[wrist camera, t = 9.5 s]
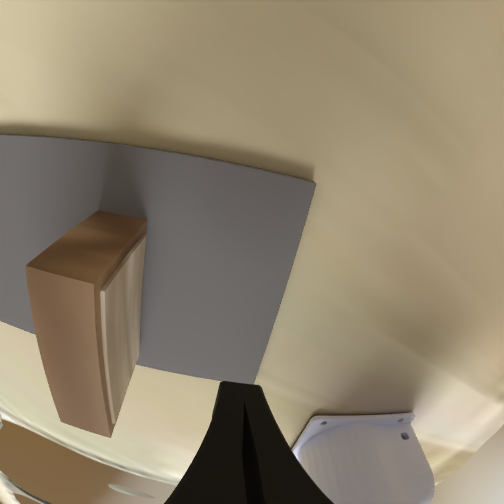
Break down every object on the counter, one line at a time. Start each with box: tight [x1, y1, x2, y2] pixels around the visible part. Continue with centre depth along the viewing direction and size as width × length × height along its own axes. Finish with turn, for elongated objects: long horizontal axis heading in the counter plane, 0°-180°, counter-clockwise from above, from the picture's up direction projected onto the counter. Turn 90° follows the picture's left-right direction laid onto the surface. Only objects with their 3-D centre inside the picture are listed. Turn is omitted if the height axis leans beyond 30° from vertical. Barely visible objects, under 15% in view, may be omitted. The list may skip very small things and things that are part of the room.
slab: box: [25, 211, 148, 438], centre depth 12 cm, size 3×8×6 cm, turn 167°
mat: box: [0, 134, 316, 385], centre depth 15 cm, size 18×12×1 cm, turn 77°
